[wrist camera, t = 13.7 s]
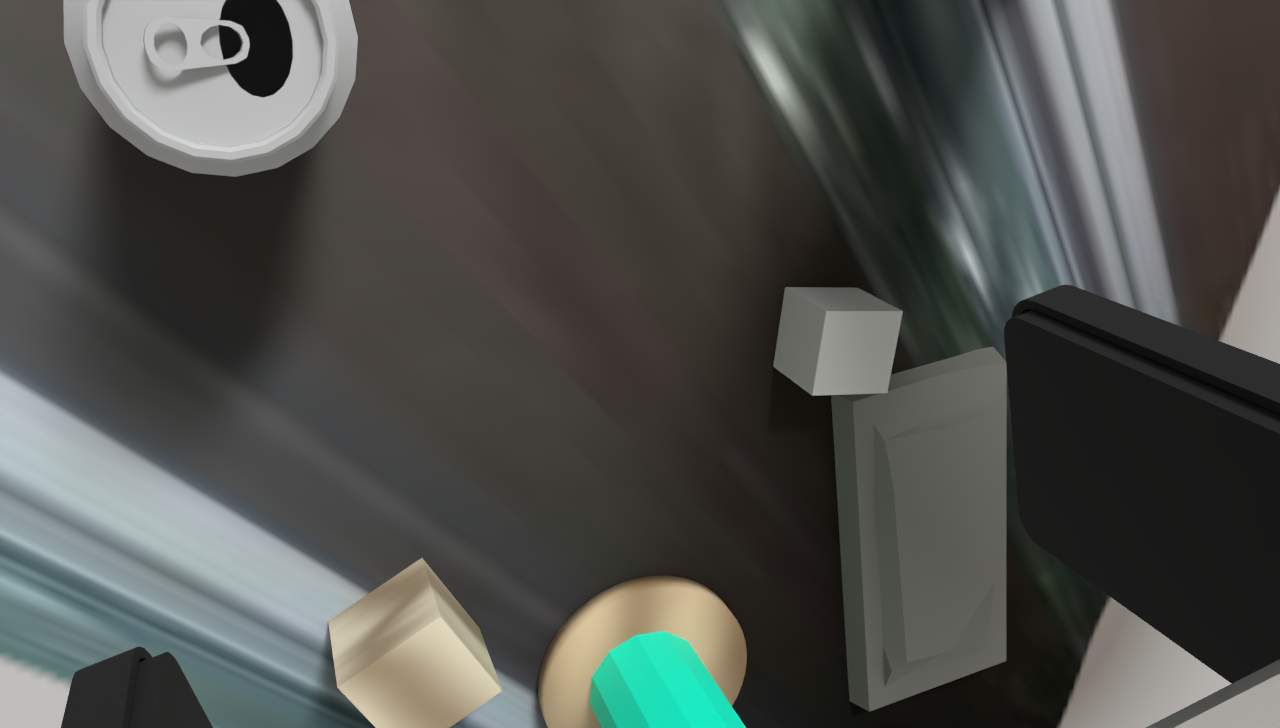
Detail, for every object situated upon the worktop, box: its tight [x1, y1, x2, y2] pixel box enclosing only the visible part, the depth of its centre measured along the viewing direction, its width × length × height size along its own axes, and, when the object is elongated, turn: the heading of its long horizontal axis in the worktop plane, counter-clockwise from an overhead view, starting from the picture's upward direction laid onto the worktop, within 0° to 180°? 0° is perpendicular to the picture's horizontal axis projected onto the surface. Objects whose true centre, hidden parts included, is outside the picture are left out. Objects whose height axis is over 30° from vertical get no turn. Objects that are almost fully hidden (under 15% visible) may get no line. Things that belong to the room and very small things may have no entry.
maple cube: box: [328, 558, 502, 728], centre depth 46 cm, size 5×5×5 cm
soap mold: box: [831, 347, 1007, 712], centre depth 56 cm, size 10×20×4 cm, turn 8°
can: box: [64, 0, 358, 177], centre depth 32 cm, size 8×8×12 cm
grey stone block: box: [773, 287, 903, 396], centre depth 49 cm, size 4×4×4 cm
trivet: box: [538, 575, 747, 728], centre depth 53 cm, size 11×11×1 cm
